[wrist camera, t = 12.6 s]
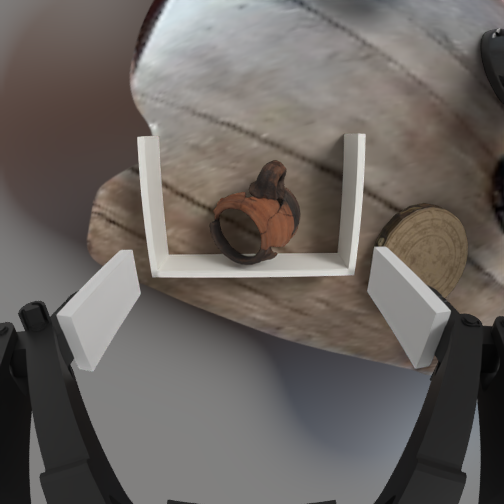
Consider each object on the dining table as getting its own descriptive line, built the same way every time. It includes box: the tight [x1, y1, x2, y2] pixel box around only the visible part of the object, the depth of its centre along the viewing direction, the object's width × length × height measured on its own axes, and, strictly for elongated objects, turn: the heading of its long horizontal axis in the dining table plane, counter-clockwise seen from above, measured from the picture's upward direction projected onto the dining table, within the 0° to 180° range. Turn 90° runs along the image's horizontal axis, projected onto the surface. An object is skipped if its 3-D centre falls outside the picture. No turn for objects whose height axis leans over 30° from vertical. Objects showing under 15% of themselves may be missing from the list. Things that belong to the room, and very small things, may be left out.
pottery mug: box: [210, 160, 300, 265], centre depth 32 cm, size 12×10×8 cm
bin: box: [138, 133, 365, 277], centre depth 32 cm, size 24×16×5 cm
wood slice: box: [371, 203, 468, 298], centre depth 36 cm, size 16×16×3 cm
